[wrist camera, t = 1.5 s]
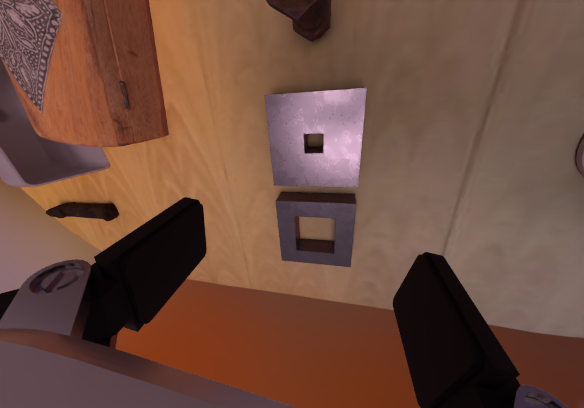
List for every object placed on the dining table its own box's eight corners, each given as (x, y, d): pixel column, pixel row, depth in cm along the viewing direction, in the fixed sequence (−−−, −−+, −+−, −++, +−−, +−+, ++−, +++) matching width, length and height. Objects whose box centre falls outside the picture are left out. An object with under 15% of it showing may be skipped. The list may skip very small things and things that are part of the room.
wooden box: (30, -114, 28) (-201, -270, 16) (140, -105, 26) (-29, -272, 14) (97, 120, 43) (2, 131, 31) (170, 136, 41) (100, 154, 29)
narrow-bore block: (363, 88, 31) (366, 87, 27) (356, 178, 37) (357, 187, 34) (272, 95, 34) (264, 95, 30) (279, 177, 40) (274, 185, 36)
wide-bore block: (354, 194, 38) (356, 203, 35) (349, 253, 45) (350, 267, 41) (281, 191, 41) (275, 200, 38) (286, 248, 48) (281, 260, 44)
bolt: (333, 49, 29) (328, 13, 16) (298, 53, 30) (266, 22, 17) (335, -6, 27) (330, -102, 14) (296, 0, 28) (257, -83, 15)
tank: (-16, 42, 40) (-149, 22, 29) (44, 27, 36) (-82, -1, 25) (60, 169, 51) (-15, 189, 40) (112, 167, 47) (44, 189, 37)
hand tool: (115, 201, 52) (96, 210, 48) (121, 215, 54) (103, 225, 50) (57, 195, 56) (35, 203, 52) (65, 208, 58) (44, 217, 54)
